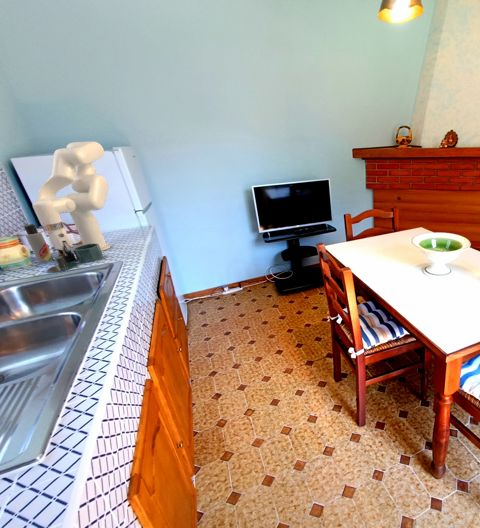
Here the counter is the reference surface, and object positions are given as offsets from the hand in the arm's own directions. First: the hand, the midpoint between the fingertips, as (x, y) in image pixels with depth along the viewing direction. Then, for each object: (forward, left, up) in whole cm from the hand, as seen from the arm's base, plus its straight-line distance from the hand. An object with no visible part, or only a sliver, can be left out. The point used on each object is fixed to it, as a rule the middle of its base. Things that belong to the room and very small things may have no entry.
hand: (69, 261), depth 152 cm
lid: (+9, -5, 0) cm, 11 cm away
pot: (+9, +6, -1) cm, 11 cm away
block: (0, 0, -1) cm, 1 cm away
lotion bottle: (-12, -5, -1) cm, 13 cm away
